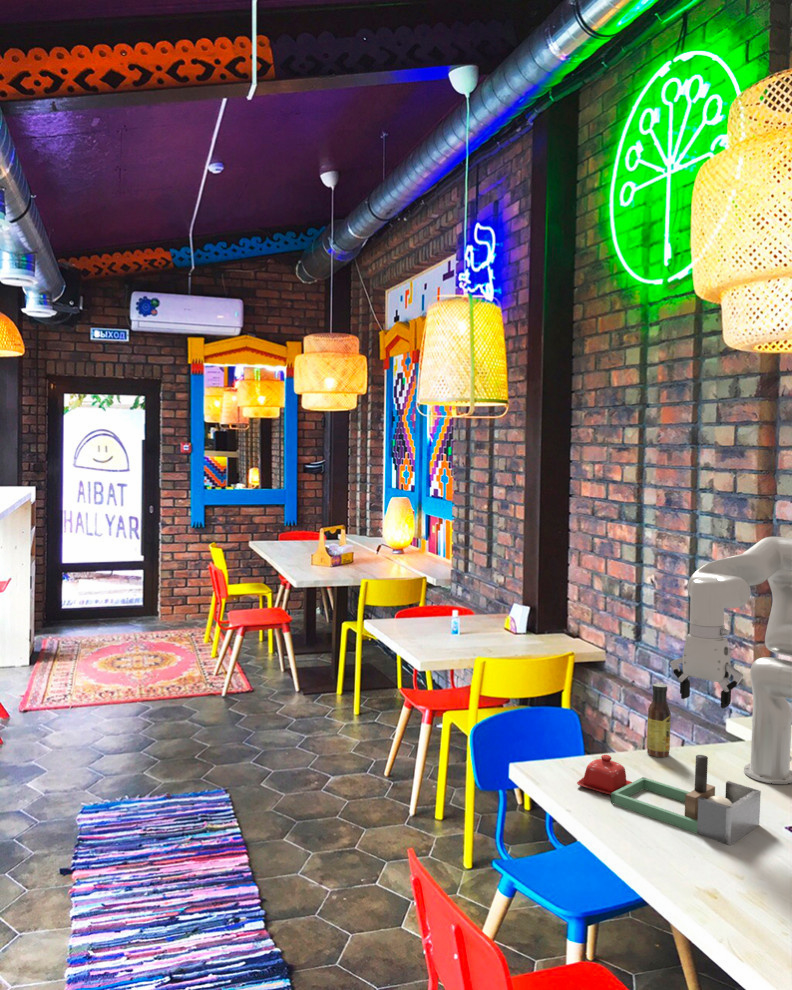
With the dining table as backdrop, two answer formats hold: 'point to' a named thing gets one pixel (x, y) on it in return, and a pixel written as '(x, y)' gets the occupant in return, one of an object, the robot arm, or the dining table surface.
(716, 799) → the cream round ball
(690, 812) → the striker
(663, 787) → the frame
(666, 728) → the sauce bottle
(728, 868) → the dining table surface
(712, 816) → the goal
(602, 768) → the butter dish
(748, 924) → the dining table surface
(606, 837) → the dining table surface
